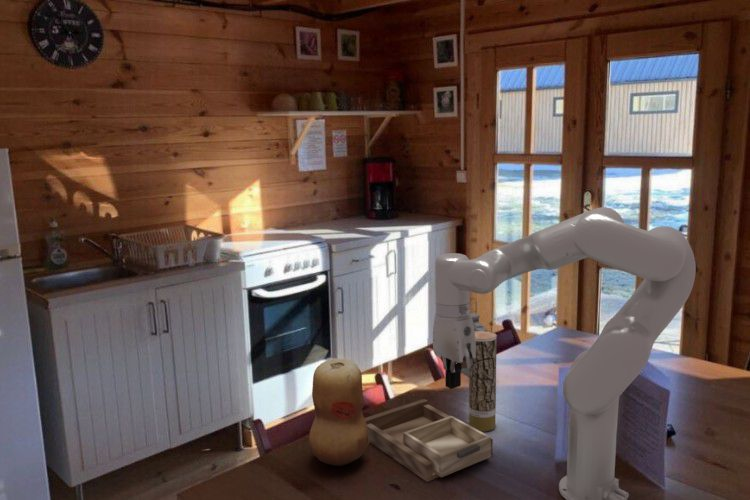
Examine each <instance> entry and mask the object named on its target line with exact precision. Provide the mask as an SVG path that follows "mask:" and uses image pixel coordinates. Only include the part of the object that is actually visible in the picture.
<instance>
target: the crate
mask: <svg viewBox="0 0 750 500" xmlns="http://www.w3.org/2000/svg"><path fill="white" fill-rule="evenodd" d="M491 439H492V436H491V435H488V434H486V432H485V433H484V432H481V431H479V430H477V429H475V428H474V427H472V426H470V425H469V423H466V422H464V421H462V420H460V419H459V418H457V417H455V416H453V415H449V417H446V418H443V419H440V420H438V421H435V422H432V423H429V424H426V425H424V426H421V427H418V428H415V429H412V430H409V431H407V432H404V433H403V444H404V445H405V446H407V447H408V448H410V449H411V450H413V451H414V452H416V453H417V454H419V455H420V456H422V457H423V458H425V459H427V460H428V461H430V462H431V463H433V472H434V473H436V474H437V475H439V476H440V477H439V478H443V477H446V476H449V475H451V474H453V473H455V472H456V473H457V472H458V471H461V470H463V469H465V468H467V467H470V466H473V465H475V464H477V463H479V462H482V461H484V460H487V459H489V458H491V457H492V455H491Z"/></svg>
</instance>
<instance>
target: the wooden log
mask: <svg viewBox="0 0 750 500" xmlns="http://www.w3.org/2000/svg"><path fill="white" fill-rule="evenodd" d="M475 343H476V357H475V358H474V359H470V362H471V367H469V377H468V425H470V426H472V427H474V428H475V429H477V430H479V431H481V432H483V433H484V432H485V433H486V432H490V431H492V430H494V429H495V427H496V413H497V411H496V408H497V407H496V405H497V403H496V401H497V399H496V398H497V343H498V341H497V334H496V333H495V332H493V331H488V330H487V331H475Z"/></svg>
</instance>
